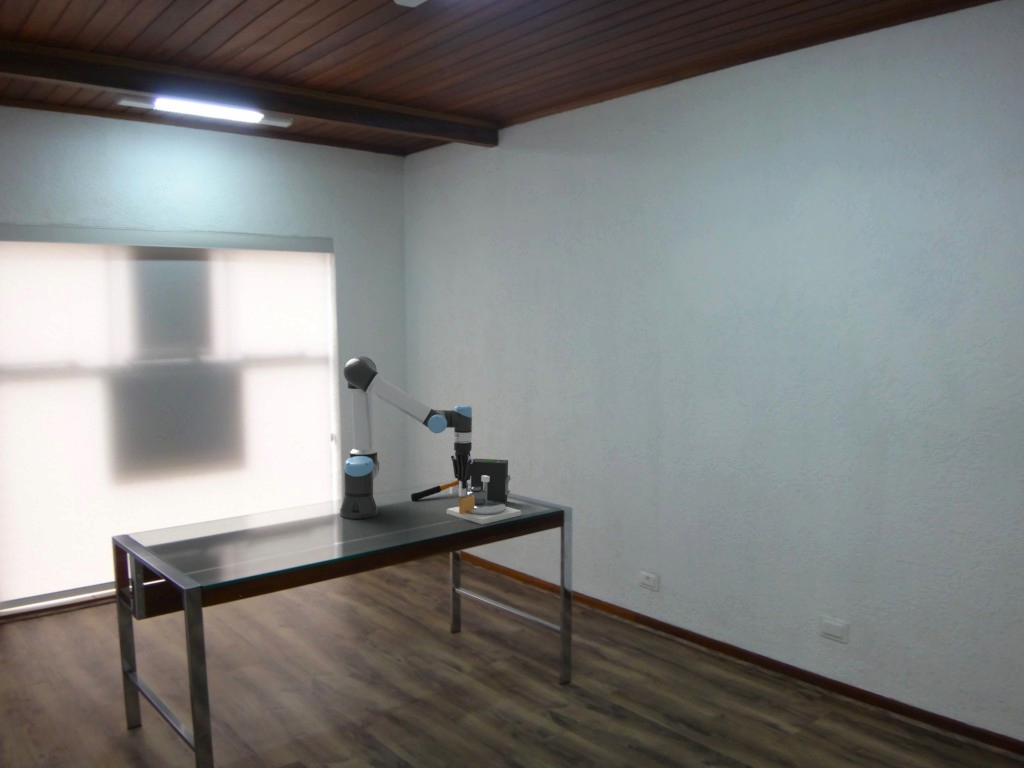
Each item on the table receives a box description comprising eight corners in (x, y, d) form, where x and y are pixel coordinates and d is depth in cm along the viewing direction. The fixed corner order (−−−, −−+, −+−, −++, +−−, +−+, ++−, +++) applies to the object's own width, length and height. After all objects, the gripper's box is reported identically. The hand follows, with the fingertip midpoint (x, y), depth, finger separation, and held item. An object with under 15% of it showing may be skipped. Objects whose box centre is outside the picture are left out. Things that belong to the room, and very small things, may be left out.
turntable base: (446, 513, 340) (447, 480, 338) (485, 505, 355) (485, 474, 354) (482, 524, 324) (482, 490, 323) (520, 515, 339) (521, 482, 338)
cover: (462, 502, 343) (462, 486, 342) (476, 499, 348) (476, 484, 348) (475, 506, 337) (475, 490, 336) (489, 503, 343) (489, 487, 342)
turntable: (446, 509, 337) (446, 494, 336) (485, 501, 352) (485, 486, 351) (475, 518, 324) (475, 502, 323) (514, 509, 339) (514, 494, 339)
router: (470, 499, 366) (471, 455, 364) (510, 501, 363) (511, 457, 362) (467, 503, 358) (468, 459, 356) (507, 505, 355) (508, 460, 354)
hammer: (412, 488, 358) (467, 470, 376) (408, 487, 361) (462, 469, 379) (415, 512, 360) (469, 493, 378) (411, 510, 363) (465, 491, 381)
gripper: (446, 440, 349) (445, 494, 351) (466, 444, 339) (465, 499, 342) (459, 438, 354) (458, 491, 356) (479, 442, 345) (478, 496, 347)
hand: (462, 495), depth 349 cm, fingers closed
